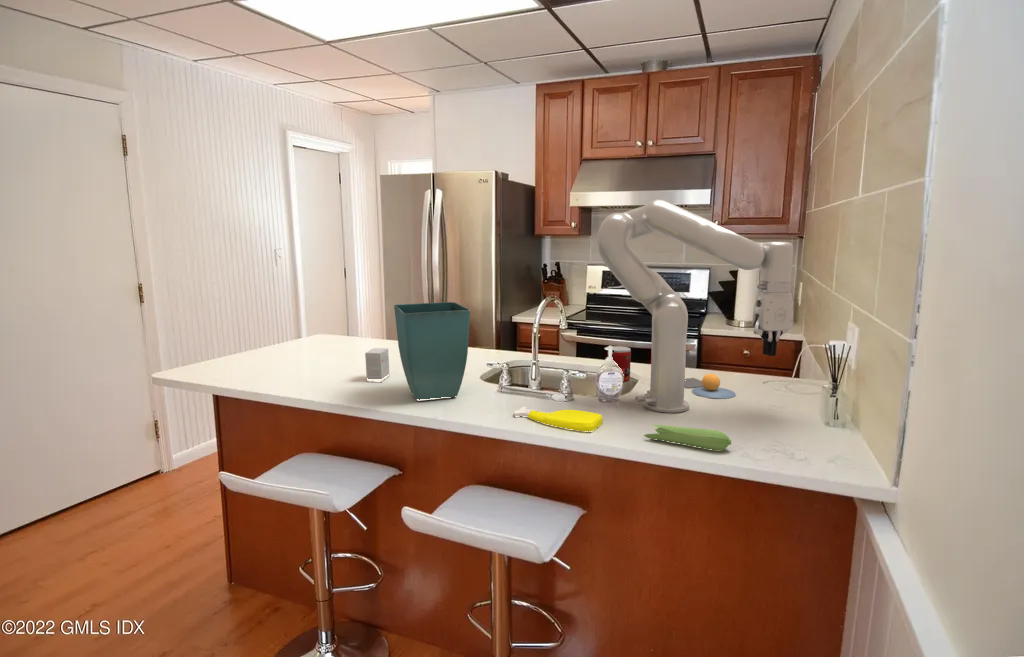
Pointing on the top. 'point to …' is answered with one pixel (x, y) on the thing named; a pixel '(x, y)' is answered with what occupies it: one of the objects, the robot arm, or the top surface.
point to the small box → (377, 363)
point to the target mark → (714, 393)
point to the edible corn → (692, 437)
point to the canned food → (623, 360)
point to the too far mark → (692, 383)
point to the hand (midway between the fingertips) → (769, 354)
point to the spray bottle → (564, 418)
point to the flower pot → (433, 347)
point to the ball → (711, 382)
